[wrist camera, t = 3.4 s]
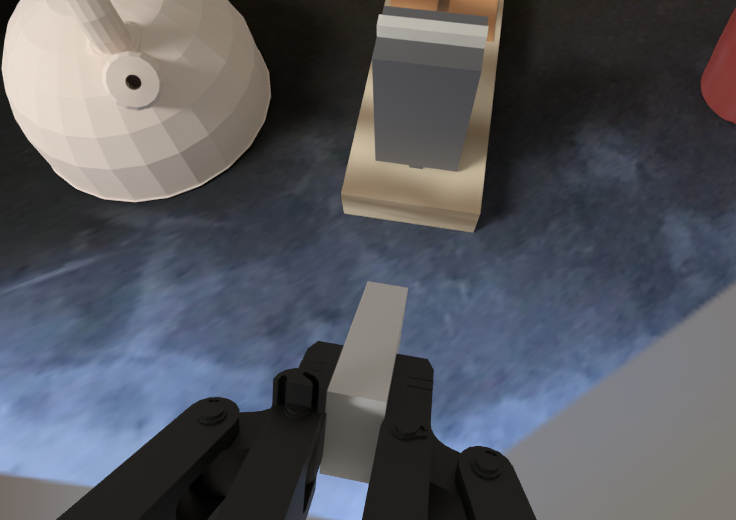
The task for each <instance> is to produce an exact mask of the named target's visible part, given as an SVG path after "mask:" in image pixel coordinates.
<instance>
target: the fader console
mask: <svg viewBox="0 0 736 520" xmlns="http://www.w3.org/2000/svg"><path fill="white" fill-rule="evenodd" d="M503 4H504V0H386V1H385V5H384V6H392V7H402V8H411V9H421V10H430V11H440V12H449V13H458V14H468V15H477V16H487V17H488V24H487V26H488V34H487V40H486V44H485V48H484V56H483V64H482V72H481V76H480V80H479V84H478V88H477V92H476V96H475V101H474V105H473V109H472V113H471V117H470V121H469V125H468V129H467V133H466V138H465V142H464V146H463V150H462V154H461V158H460V162H459V166H458V170H457V172H455V171H448V170H441V169H433V168H426V167H419V166H411V165H404V164H397V163H389V162H382V161H375V133H374V104H373V75H372V62H371V66H370V70H369V75H368V79H367V83H366V88H365V92H364V96H363V101H362V105H361V109H360V114H359V118H358V122H357V127H356V131H355V135H354V140H353V144H352V149H351V153H350V157H349V162H348V166H347V170H346V175H345V179H344V183H343V188H342V192H341V197H342V203H343V209H344V213H345V214H352V215H358V216H365V217H372V218H379V219H385V220H392V221H399V222H406V223H412V224H419V225H426V226H433V227H440V228H446V229H453V230H460V231H467V232H474V229H475V227H476V224H477V222H478V219H479V216H480V212H481V203H482V194H483V185H484V176H485V167H486V158H487V149H488V140H489V130H490V121H491V112H492V103H493V94H494V85H495V76H496V67H497V58H498V49H499V40H500V31H501V22H502V13H503Z"/></svg>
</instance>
